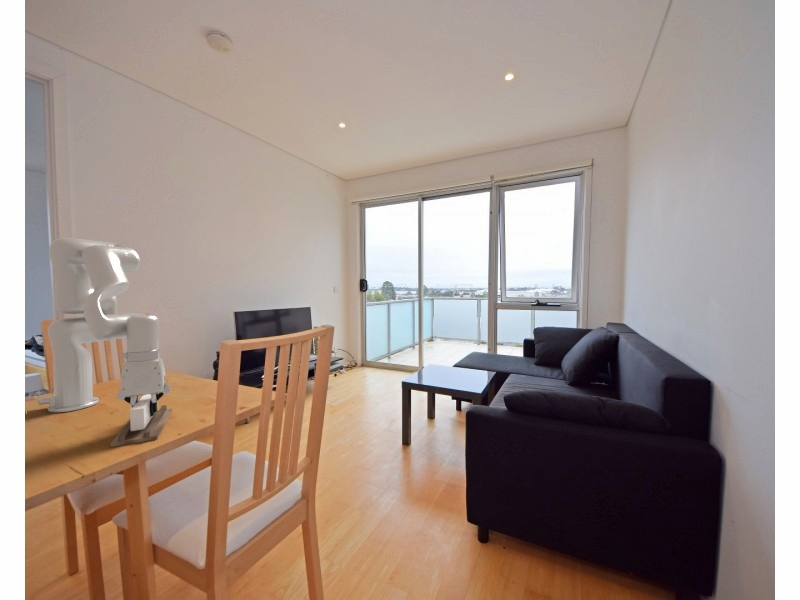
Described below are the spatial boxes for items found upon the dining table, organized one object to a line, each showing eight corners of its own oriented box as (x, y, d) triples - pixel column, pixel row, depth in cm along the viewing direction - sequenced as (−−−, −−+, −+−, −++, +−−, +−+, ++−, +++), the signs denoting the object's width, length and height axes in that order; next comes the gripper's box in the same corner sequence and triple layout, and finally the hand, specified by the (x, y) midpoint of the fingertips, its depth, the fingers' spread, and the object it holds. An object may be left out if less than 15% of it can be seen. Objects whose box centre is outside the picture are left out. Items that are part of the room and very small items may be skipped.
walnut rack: (110, 447, 83) (110, 438, 83) (135, 416, 103) (135, 409, 103) (157, 439, 88) (156, 430, 88) (172, 411, 107) (172, 404, 107)
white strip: (130, 431, 87) (130, 410, 87) (146, 411, 101) (145, 392, 101) (144, 429, 89) (143, 408, 88) (157, 409, 103) (157, 391, 103)
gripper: (103, 361, 87) (104, 425, 88) (174, 355, 95) (175, 415, 95) (112, 355, 94) (114, 416, 95) (178, 351, 101) (179, 407, 102)
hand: (145, 415), depth 95 cm, fingers closed on white strip, 3 cm apart
